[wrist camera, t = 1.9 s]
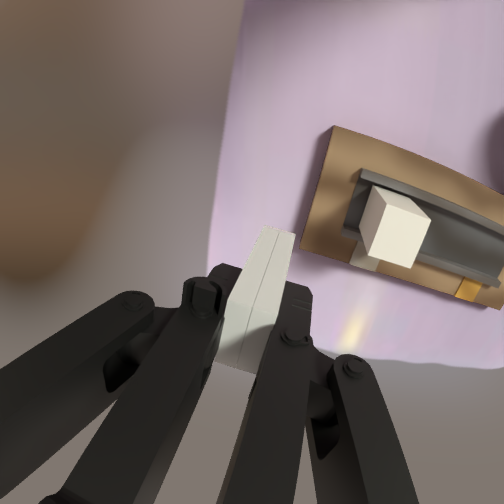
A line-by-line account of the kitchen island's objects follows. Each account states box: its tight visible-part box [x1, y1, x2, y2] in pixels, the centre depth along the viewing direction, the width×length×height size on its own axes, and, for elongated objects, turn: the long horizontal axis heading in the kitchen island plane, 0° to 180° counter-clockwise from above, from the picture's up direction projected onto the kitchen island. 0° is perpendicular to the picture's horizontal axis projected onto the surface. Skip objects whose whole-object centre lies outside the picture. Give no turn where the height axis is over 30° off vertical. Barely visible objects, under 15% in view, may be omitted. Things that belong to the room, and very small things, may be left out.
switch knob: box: [359, 185, 431, 269], centre depth 26 cm, size 4×4×7 cm
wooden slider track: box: [299, 125, 504, 310], centre depth 29 cm, size 13×28×3 cm, turn 78°
